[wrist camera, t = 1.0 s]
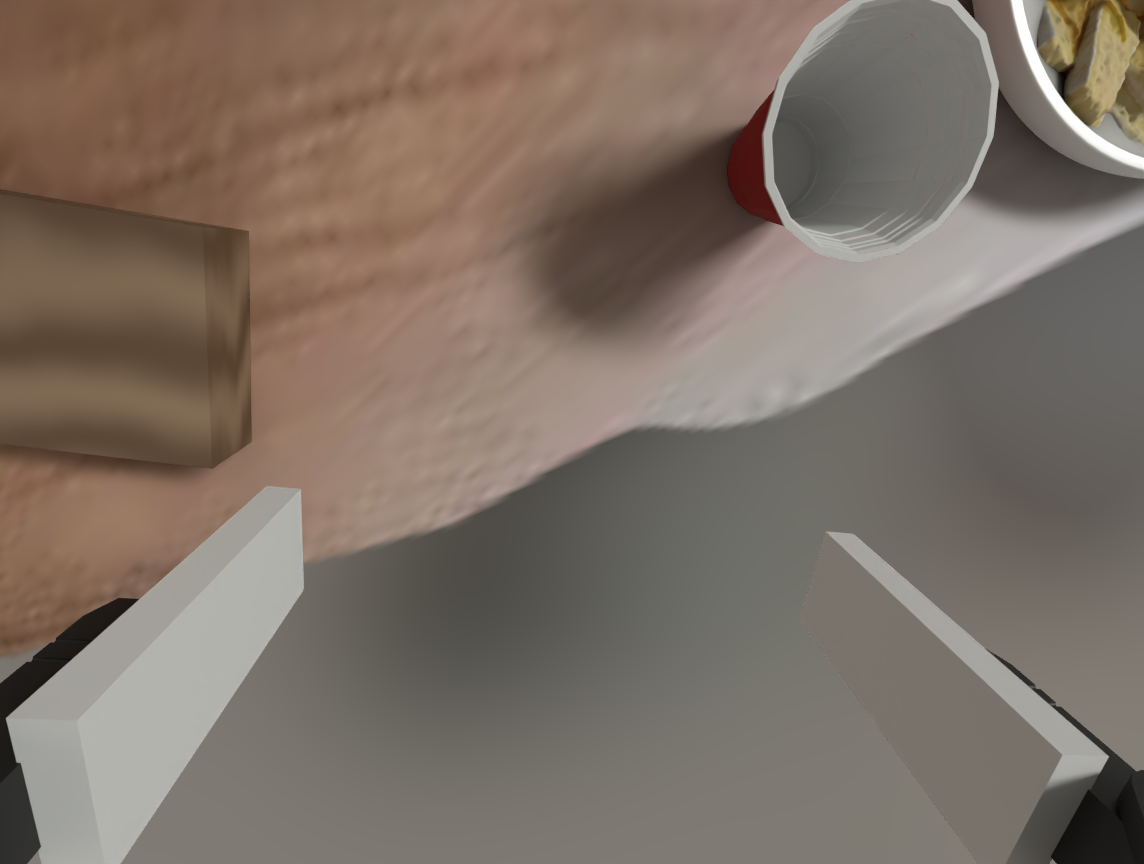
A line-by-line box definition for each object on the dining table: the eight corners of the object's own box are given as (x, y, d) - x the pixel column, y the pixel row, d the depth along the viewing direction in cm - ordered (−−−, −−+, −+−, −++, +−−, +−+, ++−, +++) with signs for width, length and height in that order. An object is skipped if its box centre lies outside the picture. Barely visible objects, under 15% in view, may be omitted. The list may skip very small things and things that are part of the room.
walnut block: (-2, 189, 32) (-95, 178, 27) (248, 231, 34) (202, 227, 29) (30, 414, 36) (-46, 438, 31) (251, 441, 38) (212, 468, 33)
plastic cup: (717, 286, 37) (801, 300, 26) (664, 120, 34) (733, 51, 22) (868, 220, 36) (1023, 204, 25) (830, 43, 33) (988, -66, 22)
